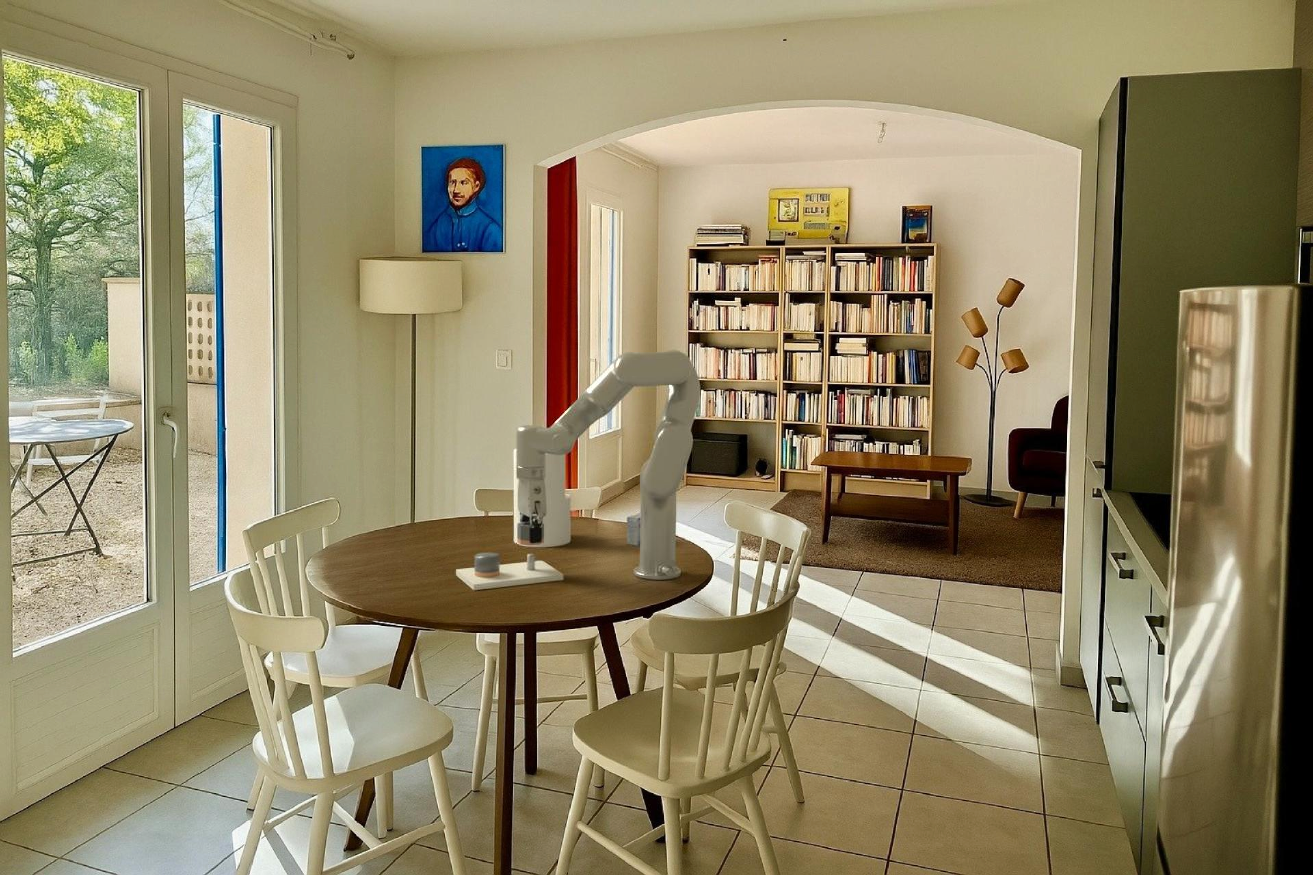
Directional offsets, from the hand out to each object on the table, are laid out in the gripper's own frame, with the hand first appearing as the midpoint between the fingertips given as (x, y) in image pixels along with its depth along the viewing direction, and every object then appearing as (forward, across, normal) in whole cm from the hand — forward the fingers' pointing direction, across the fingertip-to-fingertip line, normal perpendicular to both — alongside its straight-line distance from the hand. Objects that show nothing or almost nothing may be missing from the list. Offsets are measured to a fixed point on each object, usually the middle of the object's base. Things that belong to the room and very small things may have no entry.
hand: (530, 539), depth 260 cm
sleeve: (+1, 0, 0) cm, 1 cm away
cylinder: (+10, +37, -17) cm, 42 cm away
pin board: (+10, 0, +6) cm, 11 cm away
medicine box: (+10, +22, -43) cm, 49 cm away
